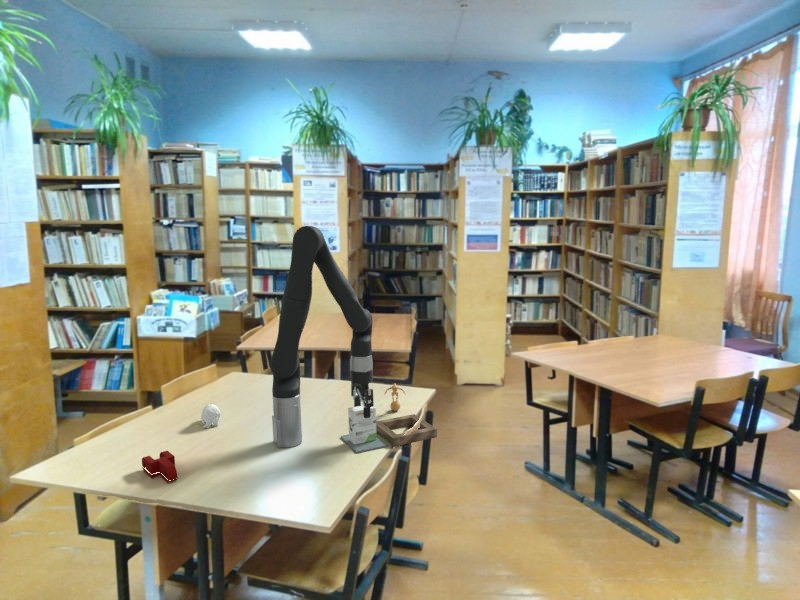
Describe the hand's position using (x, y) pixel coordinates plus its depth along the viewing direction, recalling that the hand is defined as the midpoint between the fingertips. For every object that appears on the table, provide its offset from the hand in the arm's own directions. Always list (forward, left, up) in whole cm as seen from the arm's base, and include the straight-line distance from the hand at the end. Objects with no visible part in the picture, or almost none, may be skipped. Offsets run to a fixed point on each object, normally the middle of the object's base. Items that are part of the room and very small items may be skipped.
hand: (362, 413), depth 186 cm
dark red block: (-63, +6, -11) cm, 64 cm away
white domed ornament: (-45, +44, -11) cm, 64 cm away
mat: (0, 0, -10) cm, 10 cm away
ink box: (0, 0, -10) cm, 10 cm away
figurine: (+23, +22, -10) cm, 34 cm away
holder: (+16, 0, -10) cm, 19 cm away
